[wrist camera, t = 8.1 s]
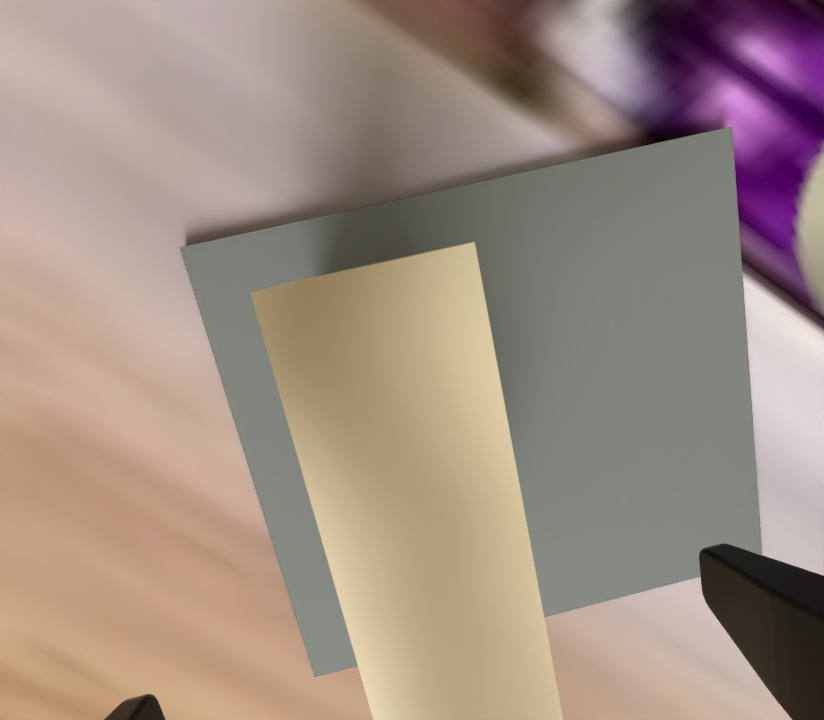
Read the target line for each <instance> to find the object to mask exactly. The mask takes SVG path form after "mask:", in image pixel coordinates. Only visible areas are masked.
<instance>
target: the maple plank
mask: <svg viewBox="0 0 824 720" xmlns="http://www.w3.org/2000/svg"><path fill="white" fill-rule="evenodd" d="M250 294H251V297H252V301H253V304H254V307H255V311H256V314H257V318H258V321H259V325H260V328H261V332H262V335H263V339H264V342H265V346H266V349H267V353H268V356H269V359H270V363H271V366H272V370H273V373H274V377H275V380H276V384H277V387H278V391H279V394H280V398H281V401H282V404H283V408H284V411H285V415H286V418H287V422H288V425H289V429H290V432H291V436H292V439H293V443H294V446H295V450H296V453H297V456H298V460H299V463H300V467H301V470H302V474H303V477H304V481H305V484H306V488H307V491H308V495H309V498H310V501H311V505H312V508H313V512H314V515H315V519H316V522H317V526H318V529H319V533H320V536H321V540H322V543H323V547H324V550H325V553H326V557H327V560H328V564H329V567H330V571H331V574H332V578H333V581H334V585H335V588H336V592H337V595H338V599H339V602H340V605H341V609H342V612H343V616H344V619H345V623H346V626H347V630H348V633H349V637H350V640H351V644H352V647H353V650H354V654H355V657H356V661H357V664H358V668H359V671H360V675H361V678H362V682H363V685H364V689H365V692H366V696H367V699H368V702H369V706H370V709H371V713H372V716H373V720H563V716H562V711H561V705H560V700H559V695H558V689H557V684H556V678H555V673H554V668H553V662H552V657H551V651H550V646H549V641H548V635H547V630H546V624H545V619H544V614H543V608H542V603H541V597H540V592H539V587H538V581H537V576H536V570H535V565H534V560H533V554H532V549H531V543H530V538H529V533H528V527H527V522H526V516H525V511H524V506H523V500H522V495H521V489H520V484H519V479H518V473H517V468H516V462H515V457H514V452H513V446H512V441H511V436H510V430H509V425H508V419H507V414H506V409H505V403H504V398H503V392H502V387H501V382H500V376H499V371H498V365H497V360H496V355H495V349H494V344H493V338H492V333H491V328H490V322H489V317H488V311H487V306H486V301H485V295H484V290H483V284H482V279H481V274H480V268H479V263H478V257H477V252H476V247H475V242H472V243H467V244H462V245H457V246H452V247H447V248H442V249H437V250H433V251H428V252H424V253H419V254H415V255H410V256H406V257H401V258H397V259H392V260H388V261H383V262H379V263H375V264H370V265H366V266H361V267H357V268H352V269H348V270H343V271H339V272H334V273H330V274H325V275H321V276H317V277H312V278H308V279H303V280H299V281H294V282H290V283H285V284H281V285H277V286H273V287H269V288H265V289H261V290H257V291H253V292H250Z"/></svg>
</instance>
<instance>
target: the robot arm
mask: <svg viewBox="0 0 824 720" xmlns="http://www.w3.org/2000/svg"><path fill="white" fill-rule="evenodd" d="M699 564H700V574H701V584H702V592H703V596H704V598H705V601H706V603H707V605H708V606H709V608H710V609H711V611H712V612H713V614H714V615H715V616H716V618H717V619H718V621H719V622H720V623H721V625H722V626H723V627H724V629H725V630H726V632H727V633H728V634H729V636H730V637H731V639H732V640H733V641H734V643H735V644H736V645H737V647H738V648H739V650H740V651H741V652H742V654H743V655H744V657H745V658H746V659H747V661H748V662H749V663H750V665H751V666H752V668H753V669H754V670H755V672H756V673H757V675H758V676H759V677H760V679H761V680H762V681H763V683H764V684H765V686H766V687H767V688H768V690H769V691H770V692H771V693H772V695H773V696H774V697H775V699H776V700H777V701H778V703H779V704H780V705H781V706H782V707H783V709H784V710H785V711H786V712H787V714H788V715H789V716H790V717H791V718H792V720H824V576H823V575H820V574H817V573H814V572H811V571H808V570H805V569H802V568H799V567H796V566H793V565H790V564H787V563H784V562H781V561H778V560H775V559H772V558H769V557H766V556H763V555H760V554H757V553H754V552H751V551H748V550H745V549H742V548H739V547H736V546H733V545H730V544H725V543H722V544H717V545H714V546H710V547H706V548H703V549H702V550H701V551H700V553H699ZM104 720H165V717H164V715H163V712H162V710H161V707H160V705H159V703H158V700H157V698H156V697H155V696H154V695H152V694H146V695H142V696H138V697H135V698H131V699H128V700H125V701H124V702H122V703H121V704H120V705H119V706H118V707H117V708H116V709H115V710H114V711H113V712H112V713H111V714H109V715H108V716H107V717H106V718H105V719H104Z"/></svg>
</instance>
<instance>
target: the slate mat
mask: <svg viewBox="0 0 824 720" xmlns="http://www.w3.org/2000/svg"><path fill="white" fill-rule="evenodd" d="M472 242H475V247H476V252H477V257H478V263H479V268H480V274H481V279H482V284H483V290H484V295H485V301H486V306H487V311H488V317H489V322H490V328H491V333H492V338H493V344H494V349H495V355H496V360H497V365H498V371H499V376H500V382H501V387H502V392H503V398H504V403H505V409H506V414H507V419H508V425H509V430H510V436H511V441H512V446H513V452H514V457H515V462H516V468H517V473H518V479H519V484H520V489H521V495H522V500H523V506H524V511H525V516H526V522H527V527H528V533H529V538H530V543H531V549H532V554H533V560H534V565H535V570H536V576H537V581H538V587H539V592H540V597H541V603H542V608H543V614H544V617H547V616H551V615H555V614H559V613H562V612H566V611H570V610H574V609H578V608H582V607H585V606H589V605H593V604H597V603H601V602H604V601H608V600H612V599H616V598H620V597H624V596H627V595H631V594H635V593H639V592H643V591H647V590H650V589H654V588H658V587H662V586H666V585H670V584H673V583H677V582H681V581H685V580H689V579H693V578H696V577H700V576H701V574H700V564H699V553H700V551H701V550H702V549H703V548H706V547H710V546H714V545H717V544H722V543H725V544H730V545H733V546H736V547H739V548H742V549H745V550H748V551H751V552H754V553H757V554H760V555H762V544H761V529H760V515H759V501H758V487H757V473H756V459H755V445H754V431H753V416H752V402H751V388H750V374H749V360H748V346H747V332H746V318H745V304H744V289H743V275H742V261H741V247H740V233H739V219H738V205H737V191H736V177H735V162H734V148H733V134H732V127H728V128H723V129H719V130H714V131H710V132H705V133H700V134H696V135H691V136H687V137H682V138H678V139H673V140H668V141H664V142H659V143H655V144H650V145H646V146H641V147H636V148H632V149H627V150H623V151H618V152H614V153H609V154H604V155H600V156H595V157H591V158H586V159H582V160H577V161H572V162H568V163H563V164H559V165H554V166H550V167H545V168H541V169H536V170H531V171H527V172H522V173H518V174H513V175H509V176H504V177H499V178H495V179H490V180H486V181H481V182H477V183H472V184H467V185H463V186H458V187H454V188H449V189H445V190H440V191H435V192H431V193H426V194H422V195H417V196H413V197H408V198H403V199H399V200H394V201H390V202H385V203H381V204H376V205H372V206H367V207H362V208H358V209H353V210H349V211H344V212H340V213H335V214H330V215H326V216H321V217H317V218H312V219H308V220H303V221H298V222H294V223H289V224H285V225H280V226H276V227H271V228H266V229H262V230H257V231H253V232H248V233H244V234H239V235H234V236H230V237H225V238H221V239H216V240H212V241H207V242H202V243H198V244H193V245H189V246H184V247H180V250H181V253H182V256H183V260H184V263H185V266H186V269H187V272H188V275H189V279H190V282H191V285H192V288H193V291H194V295H195V298H196V301H197V304H198V307H199V310H200V314H201V317H202V320H203V323H204V326H205V330H206V333H207V336H208V339H209V342H210V346H211V349H212V352H213V355H214V358H215V361H216V365H217V368H218V371H219V374H220V377H221V381H222V384H223V387H224V390H225V393H226V396H227V400H228V403H229V406H230V409H231V412H232V416H233V419H234V422H235V425H236V428H237V432H238V435H239V438H240V441H241V444H242V447H243V451H244V454H245V457H246V460H247V463H248V467H249V470H250V473H251V476H252V479H253V483H254V486H255V489H256V492H257V495H258V498H259V502H260V505H261V508H262V511H263V514H264V518H265V521H266V524H267V527H268V530H269V533H270V537H271V540H272V543H273V546H274V549H275V553H276V556H277V559H278V562H279V565H280V569H281V572H282V575H283V578H284V581H285V584H286V588H287V591H288V594H289V597H290V600H291V604H292V607H293V610H294V613H295V616H296V619H297V623H298V626H299V629H300V632H301V635H302V639H303V642H304V645H305V648H306V651H307V655H308V658H309V661H310V664H311V667H312V670H313V674H314V677H317V676H321V675H325V674H329V673H333V672H337V671H340V670H344V669H348V668H352V667H356V666H358V664H357V661H356V657H355V654H354V650H353V647H352V644H351V640H350V637H349V633H348V630H347V626H346V623H345V619H344V616H343V612H342V609H341V605H340V602H339V599H338V595H337V592H336V588H335V585H334V581H333V578H332V574H331V571H330V567H329V564H328V560H327V557H326V553H325V550H324V547H323V543H322V540H321V536H320V533H319V529H318V526H317V522H316V519H315V515H314V512H313V508H312V505H311V501H310V498H309V495H308V491H307V488H306V484H305V481H304V477H303V474H302V470H301V467H300V463H299V460H298V456H297V453H296V450H295V446H294V443H293V439H292V436H291V432H290V429H289V425H288V422H287V418H286V415H285V411H284V408H283V404H282V401H281V398H280V394H279V391H278V387H277V384H276V380H275V377H274V373H273V370H272V366H271V363H270V359H269V356H268V353H267V349H266V346H265V342H264V339H263V335H262V332H261V328H260V325H259V321H258V318H257V314H256V311H255V307H254V304H253V301H252V297H251V294H250V292H253V291H257V290H261V289H265V288H269V287H273V286H277V285H281V284H285V283H290V282H294V281H299V280H303V279H308V278H312V277H317V276H321V275H325V274H330V273H334V272H339V271H343V270H348V269H352V268H357V267H361V266H366V265H370V264H375V263H379V262H383V261H388V260H392V259H397V258H401V257H406V256H410V255H415V254H419V253H424V252H428V251H433V250H437V249H442V248H447V247H452V246H457V245H462V244H467V243H472Z"/></svg>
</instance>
